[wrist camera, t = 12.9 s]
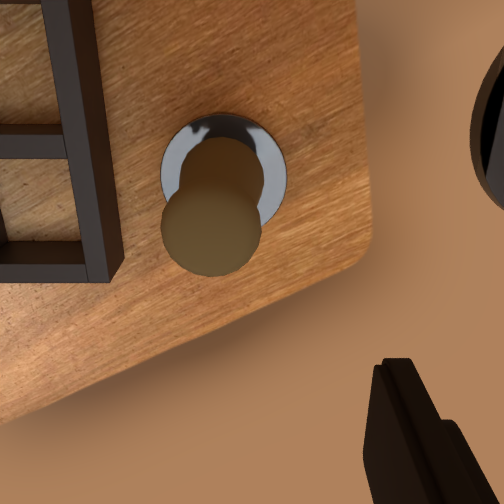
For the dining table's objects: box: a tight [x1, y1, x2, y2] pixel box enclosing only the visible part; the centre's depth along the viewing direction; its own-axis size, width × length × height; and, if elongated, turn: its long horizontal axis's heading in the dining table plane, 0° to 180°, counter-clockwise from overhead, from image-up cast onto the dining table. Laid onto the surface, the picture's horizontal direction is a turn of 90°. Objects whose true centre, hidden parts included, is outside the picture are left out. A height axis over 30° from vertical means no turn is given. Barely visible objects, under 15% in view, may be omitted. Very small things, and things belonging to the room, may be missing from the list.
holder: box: [0, 0, 124, 283], centre depth 29 cm, size 10×19×4 cm, turn 0°
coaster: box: [160, 113, 287, 227], centre depth 32 cm, size 9×9×1 cm
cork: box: [160, 137, 264, 277], centre depth 26 cm, size 6×6×11 cm
